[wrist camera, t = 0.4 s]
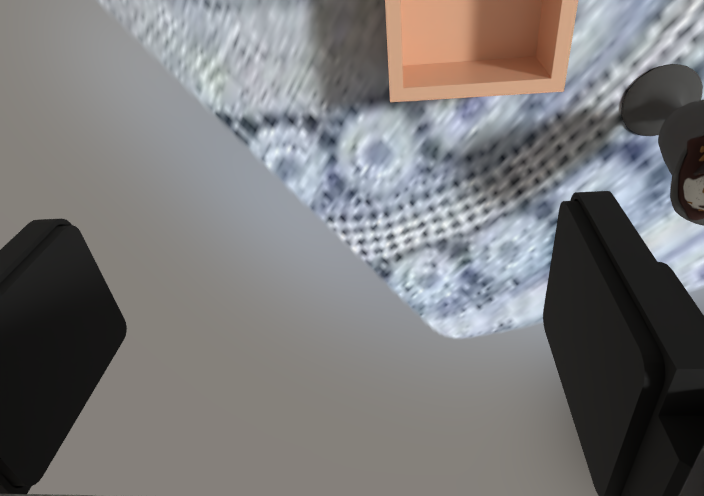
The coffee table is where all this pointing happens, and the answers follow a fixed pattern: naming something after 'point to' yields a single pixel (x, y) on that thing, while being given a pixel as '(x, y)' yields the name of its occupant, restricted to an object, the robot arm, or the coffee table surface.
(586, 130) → the coffee table surface
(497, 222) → the coffee table surface
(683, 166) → the sundae
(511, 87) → the open wooden box
